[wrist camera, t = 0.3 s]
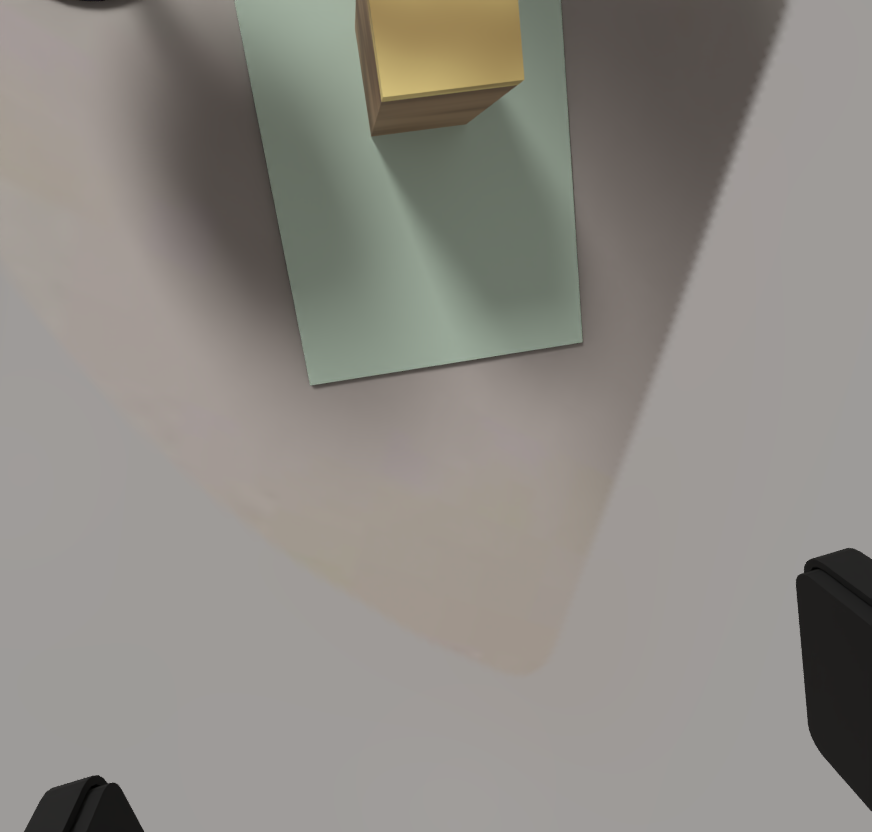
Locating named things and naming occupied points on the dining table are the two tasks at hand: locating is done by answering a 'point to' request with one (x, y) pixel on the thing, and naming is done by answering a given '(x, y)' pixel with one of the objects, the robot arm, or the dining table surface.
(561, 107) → the mat
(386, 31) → the walnut block
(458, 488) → the dining table surface
